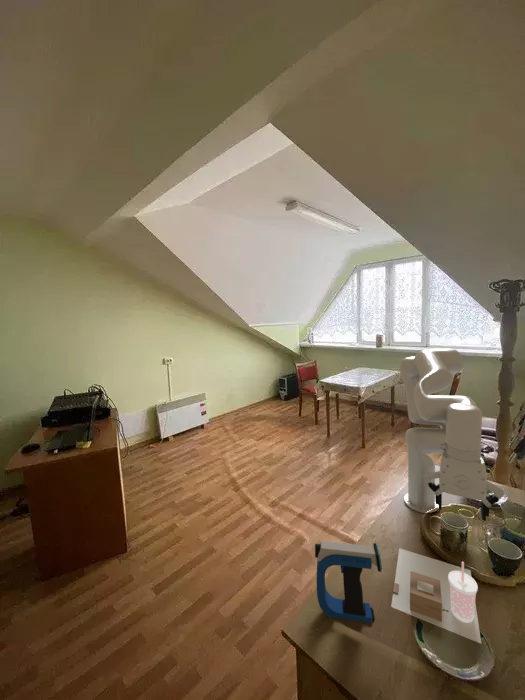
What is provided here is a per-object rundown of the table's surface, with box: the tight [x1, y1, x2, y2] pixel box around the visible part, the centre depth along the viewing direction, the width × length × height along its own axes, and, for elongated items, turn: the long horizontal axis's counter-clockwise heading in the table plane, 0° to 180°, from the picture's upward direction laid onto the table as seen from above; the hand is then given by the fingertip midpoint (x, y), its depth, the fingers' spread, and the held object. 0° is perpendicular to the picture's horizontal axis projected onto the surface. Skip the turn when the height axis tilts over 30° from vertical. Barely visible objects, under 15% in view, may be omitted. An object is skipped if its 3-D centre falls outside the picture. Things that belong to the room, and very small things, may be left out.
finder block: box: [410, 571, 442, 622], centre depth 76 cm, size 7×7×5 cm
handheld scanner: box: [314, 540, 383, 624], centre depth 75 cm, size 5×16×20 cm, turn 78°
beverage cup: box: [448, 561, 479, 623], centre depth 73 cm, size 6×6×14 cm
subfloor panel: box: [390, 548, 482, 644], centre depth 81 cm, size 22×24×2 cm
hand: (460, 511), depth 78 cm, fingers open, 9 cm apart
